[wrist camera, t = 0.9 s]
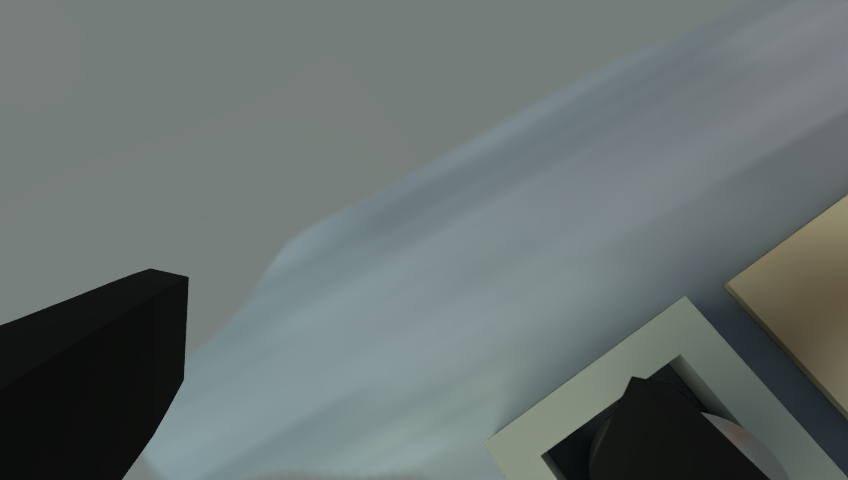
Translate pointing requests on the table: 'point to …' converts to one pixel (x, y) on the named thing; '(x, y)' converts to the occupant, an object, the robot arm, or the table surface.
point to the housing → (641, 357)
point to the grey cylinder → (734, 433)
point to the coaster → (806, 300)
